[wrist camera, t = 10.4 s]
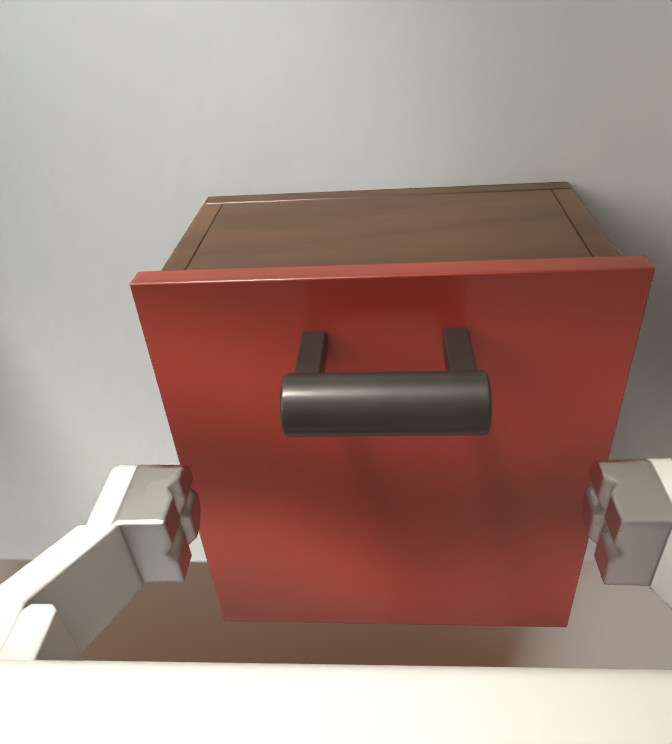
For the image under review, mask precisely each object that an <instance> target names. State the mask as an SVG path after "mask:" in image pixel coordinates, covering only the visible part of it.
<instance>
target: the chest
mask: <svg viewBox="0 0 672 744" xmlns="http://www.w3.org/2000/svg"><path fill="white" fill-rule="evenodd" d="M615 256H620V255H619V254H618V252H617V251H616V249H615V248H614V247H613V245H612V244H611V242H610V241H609V240H608V238H607V237H606V235H605V234H604V232H603V231H602V230H601V228H600V227H599V225H598V224H597V223H596V221H595V220H594V218H593V217H592V215H591V214H590V213H589V211H588V210H587V208H586V207H585V206H584V204H583V203H582V201H581V200H580V198H579V197H578V196H577V194H576V193H575V191H574V190H573V189H572V187H571V186H570V184H569V183H568V182H551V183H527V184H503V185H480V186H456V187H433V188H409V189H385V190H362V191H338V192H315V193H291V194H268V195H244V196H220V197H208V198H207V200H206V202H205V203H204V205H203V206H202V208H201V209H200V211H199V212H198V214H197V215H196V217H195V219H194V220H193V222H192V223H191V225H190V226H189V228H188V230H187V231H186V233H185V234H184V236H183V237H182V239H181V241H180V242H179V244H178V245H177V247H176V248H175V250H174V252H173V253H172V255H171V256H170V258H169V259H168V261H167V263H166V264H165V266H164V267H163V269H162V270H161V271H180V270H211V269H242V268H273V267H305V266H336V265H367V264H398V263H429V262H460V261H491V260H522V259H553V258H584V257H615Z"/></svg>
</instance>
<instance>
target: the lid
mask: <svg viewBox="0 0 672 744" xmlns="http://www.w3.org/2000/svg"><path fill="white" fill-rule="evenodd" d="M654 270H655V268H654V266H653V265H652V264H651V262H650V261H649V260H648V259H647V257H646V256H615V257H584V258H553V259H522V260H491V261H460V262H429V263H398V264H367V265H336V266H305V267H273V268H242V269H211V270H180V271H149V272H138V273H137V274H136V276H135V277H134V279H133V280H132V282H131V283H130V287H131V291H132V294H133V298H134V301H135V305H136V308H137V312H138V316H139V319H140V323H141V326H142V330H143V333H144V337H145V341H146V344H147V348H148V351H149V355H150V358H151V362H152V366H153V369H154V373H155V376H156V380H157V383H158V387H159V391H160V394H161V398H162V401H163V405H164V408H165V412H166V416H167V419H168V423H169V426H170V430H171V433H172V437H173V441H174V444H175V448H176V451H177V455H178V458H179V462H180V465H186V466H189V467H190V470H191V473H192V476H193V481H192V484H191V488H192V489H193V490H194V491H196V492H197V493H198V496H199V500H200V507H201V518H200V527H199V533H200V537H201V540H202V544H203V548H204V551H205V555H206V558H207V562H208V565H209V569H210V573H211V576H212V580H213V583H214V586H215V590H216V594H217V598H218V601H219V605H220V608H221V612H222V615H223V619H224V621H243V622H300V623H301V622H302V623H303V622H304V623H360V624H415V625H474V626H530V627H531V626H532V627H536V626H537V627H566V626H567V624H568V620H569V616H570V611H571V607H572V604H573V599H574V595H575V591H576V587H577V583H578V579H579V575H580V571H581V567H582V563H583V559H584V555H585V551H586V547H587V543H588V539H589V537H588V535H587V532H586V528H585V525H584V519H583V497H584V492H585V490H586V489H587V488H588V487H589V486H591V485H592V482H591V479H590V477H589V471H590V467H591V464H592V463H593V461H594V460H608V457H609V453H610V449H611V445H612V441H613V437H614V433H615V429H616V425H617V421H618V417H619V413H620V408H621V404H622V400H623V396H624V392H625V388H626V384H627V380H628V376H629V372H630V368H631V364H632V360H633V356H634V352H635V347H636V343H637V339H638V335H639V331H640V327H641V323H642V319H643V315H644V311H645V307H646V303H647V299H648V295H649V291H650V287H651V282H652V278H653V274H654Z"/></svg>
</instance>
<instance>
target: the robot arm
mask: <svg viewBox="0 0 672 744" xmlns="http://www.w3.org/2000/svg"><path fill="white" fill-rule="evenodd" d="M589 477H590V479H591V482H592V485H591V486H589V487H588V488H587V489H586V490H585V492H584V497H583V519H584V525H585V528H586V532H587V535H588V537H589V538H590V539H591V540H593V541H594V542H595V543H596V544H597V547H596V551H595V555H594V556H595V559H596V562H597V565H598V568H599V570H600V573H601V577H602V580H603V582H604V584H607V585H641V586H650V589H651V590H652V591H653V592H654V593H655V594H656V595H657V596H658V597H659V598H660V599H661V600H662V601H663V602H665V604H666V605H667V606H668V607H669V608H670V609H671V610H672V458H669V459H647V460H645V459H625V460H594V461H593V463H592V464H591V467H590V471H589ZM192 481H193V476H192V473H191V470H190V467H189V466H186V465H117V466H116V467H114V468H113V469H112V470H111V472H110V475H109V477H108V479H107V481H106V483H105V485H104V487H103V489H102V491H101V494H100V496H99V498H98V500H97V502H96V504H95V506H94V508H93V510H92V512H91V515H90V517H89V519H88V521H87V523H86V525H78V526H77V527H76V528H74V529H73V530H72V531H70V532H69V533H68V534H67V535H65V536H64V537H63V538H61V539H60V540H59V541H57V542H56V543H55V544H53V545H52V546H51V547H49V548H48V549H47V550H45V551H44V552H43V553H42V554H40V555H39V556H38V557H36V558H35V559H34V560H32V561H31V562H30V563H29V564H27V565H26V566H24V567H23V568H22V569H21V570H19V571H18V572H17V573H15V574H14V575H13V576H11V577H10V578H9V579H7V580H6V581H5V582H3V583H2V584H1V585H0V744H672V670H669V669H662V670H661V669H601V668H533V667H530V668H528V667H459V666H456V667H455V666H395V665H393V666H392V665H330V664H268V663H267V664H266V663H201V662H199V663H198V662H135V661H134V662H131V661H85V659H84V657H83V656H82V654H81V653H82V652H83V651H84V650H85V649H86V648H87V647H88V646H89V645H90V643H91V642H92V641H93V640H94V639H95V638H96V637H97V636H98V635H99V634H100V632H101V631H102V630H103V629H104V628H105V627H106V626H107V625H108V624H109V623H110V622H111V621H112V619H113V618H114V617H115V616H116V615H117V614H118V613H119V612H120V611H121V610H122V609H123V608H124V607H125V605H126V604H127V603H128V602H129V601H130V600H131V599H132V598H133V597H134V596H135V594H136V593H137V592H138V591H139V590H140V589H141V588H142V587H143V584H145V583H183V582H184V580H185V576H186V573H187V569H188V566H189V563H190V559H191V556H192V555H191V552H190V548H189V544H190V543H191V542H192V541H193V540H194V539H196V538H197V535H198V531H199V527H200V518H201V507H200V500H199V496H198V493H197V492H196V491H194V490H193V489H192V488H191V484H192Z"/></svg>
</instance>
